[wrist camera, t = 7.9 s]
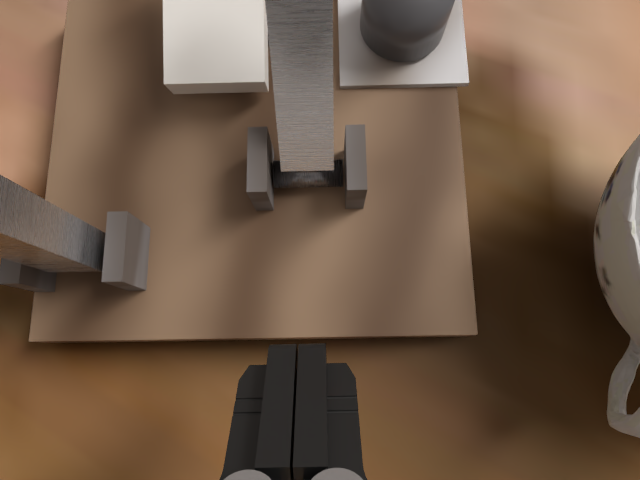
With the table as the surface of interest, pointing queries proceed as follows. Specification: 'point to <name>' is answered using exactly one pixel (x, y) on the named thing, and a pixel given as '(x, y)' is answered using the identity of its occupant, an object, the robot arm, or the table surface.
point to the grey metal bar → (46, 234)
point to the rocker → (215, 46)
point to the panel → (253, 197)
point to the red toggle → (303, 92)
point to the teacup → (621, 276)
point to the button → (404, 27)
